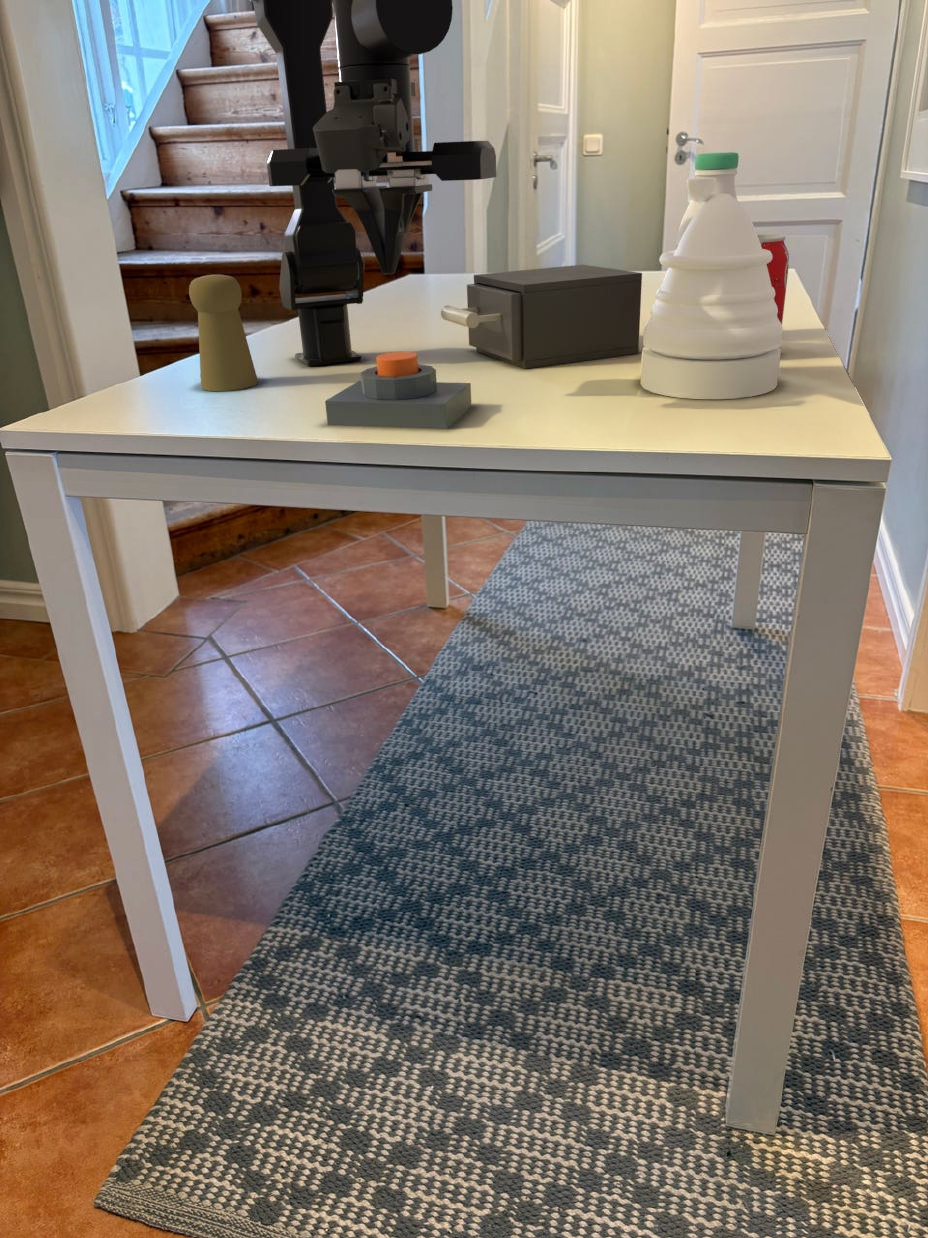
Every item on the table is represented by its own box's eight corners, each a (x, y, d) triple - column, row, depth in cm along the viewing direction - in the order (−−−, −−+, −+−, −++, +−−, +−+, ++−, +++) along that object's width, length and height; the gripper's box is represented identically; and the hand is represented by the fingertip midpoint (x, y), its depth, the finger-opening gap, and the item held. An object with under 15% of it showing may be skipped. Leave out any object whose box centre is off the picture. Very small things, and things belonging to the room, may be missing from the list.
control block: (327, 425, 79) (322, 379, 77) (361, 403, 86) (357, 360, 84) (446, 429, 76) (444, 382, 74) (471, 406, 83) (470, 362, 81)
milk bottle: (744, 336, 109) (762, 150, 100) (724, 347, 103) (741, 151, 94) (683, 332, 113) (695, 153, 103) (660, 343, 107) (671, 154, 98)
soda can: (781, 361, 95) (796, 238, 90) (713, 361, 96) (723, 240, 91) (775, 348, 101) (788, 233, 96) (710, 348, 103) (719, 235, 97)
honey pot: (627, 395, 84) (636, 182, 76) (654, 367, 95) (664, 178, 87) (770, 402, 80) (796, 176, 72) (782, 372, 90) (805, 172, 82)
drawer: (476, 365, 95) (473, 298, 92) (435, 349, 105) (431, 287, 102) (618, 346, 101) (621, 282, 98) (568, 332, 111) (568, 274, 108)
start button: (372, 379, 78) (370, 359, 77) (386, 371, 81) (384, 351, 81) (411, 380, 77) (409, 359, 77) (424, 371, 80) (422, 351, 80)
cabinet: (524, 368, 97) (524, 284, 93) (476, 350, 107) (473, 274, 104) (638, 353, 102) (642, 272, 98) (581, 337, 112) (582, 264, 109)
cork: (208, 393, 92) (189, 280, 87) (195, 383, 97) (176, 275, 92) (265, 385, 95) (249, 275, 90) (250, 376, 100) (234, 270, 95)
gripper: (221, 68, 68) (251, 286, 75) (457, 51, 63) (465, 286, 70) (286, 76, 77) (307, 269, 85) (496, 62, 72) (499, 268, 80)
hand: (389, 273), depth 79 cm, fingers closed
